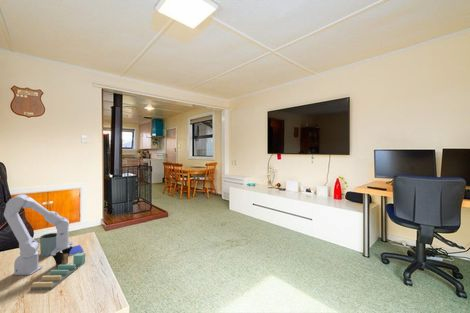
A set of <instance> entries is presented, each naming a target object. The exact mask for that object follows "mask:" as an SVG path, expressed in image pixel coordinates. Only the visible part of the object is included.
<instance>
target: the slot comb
mask: <svg viewBox="0 0 470 313" xmlns="http://www.w3.org/2000/svg"><path fill="white" fill-rule="evenodd" d="M77 270H78V268H77V265H76V264H73V263H72V264H66V265H58V266H57V269H51V270H50V271H49V272H50V273H49V274H48V275H42V276H41V280H39V281H34V282H32V285H31V287H30V290H31V291H34V290H35V291H36V290H39V291H40V290H41V291H42V290H53V289H54V288H56V287H57V286H58V285H60V284H61V283H62V282H63V281H64V280H65V279H67V278H68V277H69V276H70V275H72V274H73V273H74V272H77Z"/></svg>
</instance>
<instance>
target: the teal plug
mask: <svg viewBox="0 0 470 313" xmlns="http://www.w3.org/2000/svg"><path fill="white" fill-rule="evenodd" d="M72 257H73V258H72V259H73V260H72V265H73V264H76V266H83V265H84V264H86V253H84V252H82V253H77V254H74V255H72Z"/></svg>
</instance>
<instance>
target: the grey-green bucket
mask: <svg viewBox="0 0 470 313" xmlns="http://www.w3.org/2000/svg"><path fill="white" fill-rule="evenodd" d="M56 237H57V232H50V233H46V234H42V235H40V236H39V248H40V249H39V250H40V256H41V257H49V256H52V255H51V252H52V251H53V250H54V249H55V248H56Z"/></svg>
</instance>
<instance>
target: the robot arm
mask: <svg viewBox="0 0 470 313" xmlns="http://www.w3.org/2000/svg"><path fill="white" fill-rule="evenodd" d="M22 209H31V210H33V211H35V212H37V213H38V214H39V215H42V216H43V220H45V221H46V222H48V223H49V224H51V225H52V226H53V227H55V229H56V233H57V237H56V248H55V249H54V250H53V251H52V252H51V255H50V256H51V257H52V258H53V259H54V262H55V265H56V264H61V260H62V255H63V253H68V257H69V253H70V251H71V249H72V247H73V246H72V245H73V241H69V238H70V237H69V232H70V231H69V230H70V228H69V225H70V221H69V220H70V219H68V218H67V217H65V216H62V215H60V214H59V213H58V212H57V211H54V210H53V211H52V210H51V211H49V210H48V209H47V208H46V207H45V206H43V205H41V204H40V203H39V202H37V201H36V200H35V199H34V198H32V197H30V196H29V195H27V194H25V193H20V194H17V195H15V196H14V197H11V198H10V199H9V200H8V201H7V202H6V203H5V208H4V211H3V212H4V213H3V216H4V218H5V220H6V222H7V224H8V226H9V227H10V229H11V231H12V233H13V234H14V237H15V238H16V240H17V242H18V248H19V251H20V252H19V256H17V257H16V258H15V260H14V263H13V264H14V266H13V267H14V268H13V269H14V270H13V271H14V272H13V273H12V275H13V276H16V275H17V276H19V275H20V276H21V275H22V276H23V275H24V276H25V275H29V276H30V275H32V274H34V273H36V272H37V271H38V270H40V269H42V268H43V266H41V265H39V251H38V249H39V248H40V242H38V241H37V240H35V238H33V237H32V236H31V234H30V232H29V230H28V229H27V226H26V225H25V223H24V221H23V219H22V218H21V216H20V214H19V212H20V210H22Z"/></svg>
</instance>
